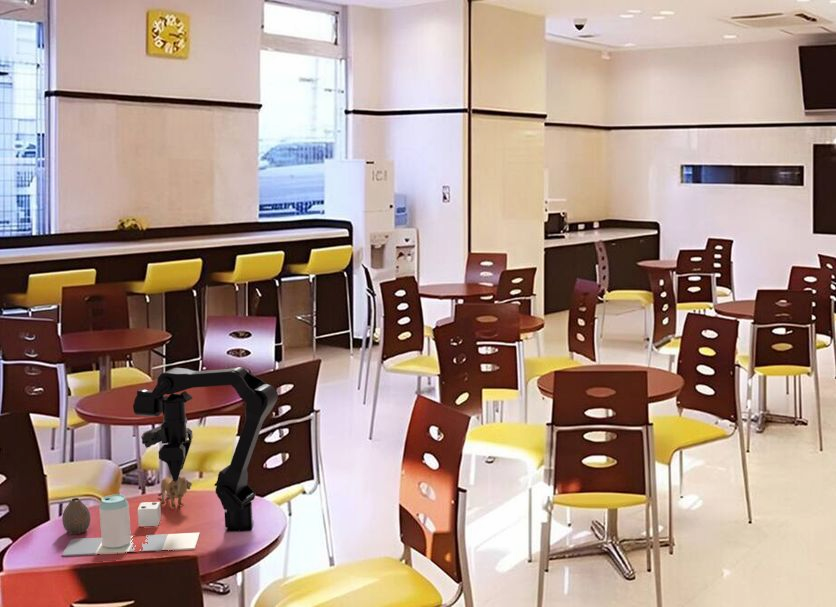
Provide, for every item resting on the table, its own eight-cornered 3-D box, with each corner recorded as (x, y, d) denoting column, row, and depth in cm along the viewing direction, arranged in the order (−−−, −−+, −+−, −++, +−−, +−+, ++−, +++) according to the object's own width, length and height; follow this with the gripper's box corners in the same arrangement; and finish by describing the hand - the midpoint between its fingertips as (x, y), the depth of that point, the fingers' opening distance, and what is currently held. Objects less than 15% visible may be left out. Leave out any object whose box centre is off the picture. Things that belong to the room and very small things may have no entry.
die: (161, 519, 275) (160, 501, 274) (158, 526, 270) (157, 507, 269) (142, 520, 274) (140, 502, 273) (138, 527, 269) (137, 508, 269)
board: (199, 533, 264) (199, 532, 264) (194, 549, 255) (194, 547, 254) (71, 540, 262) (71, 539, 262) (61, 556, 252) (61, 554, 252)
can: (104, 551, 253) (100, 505, 251) (99, 541, 259) (96, 496, 258) (133, 546, 256) (130, 500, 254) (128, 536, 262) (125, 491, 260)
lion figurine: (195, 507, 284) (193, 475, 282) (179, 512, 280) (177, 480, 278) (166, 495, 294) (164, 464, 292) (149, 500, 290) (147, 469, 288)
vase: (83, 524, 272) (81, 492, 271) (96, 531, 268) (93, 499, 266) (58, 532, 268) (56, 499, 266) (71, 539, 263) (68, 506, 261)
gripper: (148, 409, 277) (152, 465, 279) (136, 428, 258) (140, 488, 261) (191, 407, 277) (194, 463, 280) (181, 426, 259) (185, 486, 262)
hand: (177, 474), depth 271 cm, fingers open, 9 cm apart
